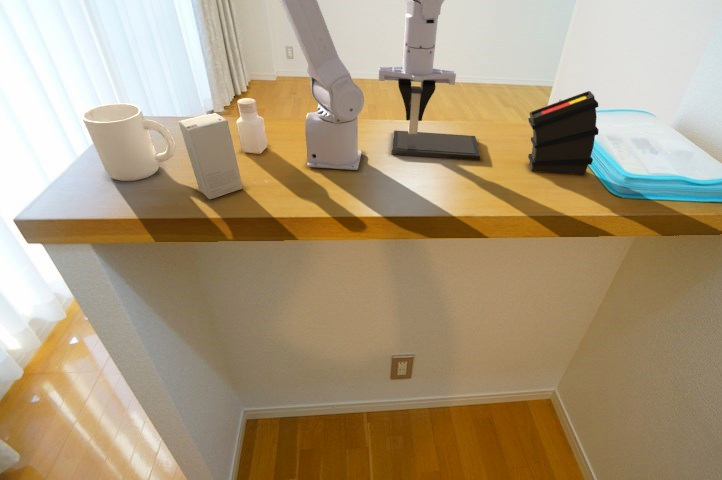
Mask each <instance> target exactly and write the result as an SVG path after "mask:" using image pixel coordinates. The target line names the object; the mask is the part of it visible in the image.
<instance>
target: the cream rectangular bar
mask: <svg viewBox="0 0 722 480" xmlns="http://www.w3.org/2000/svg"><path fill="white" fill-rule="evenodd" d="M411 89H412V90H411V100H410V120H408V129H407V131H408V133H409V134H417V132H419V121H418V118H419V109H420V97H421V86H417V85H416V86H415V85H411Z"/></svg>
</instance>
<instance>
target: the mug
mask: <svg viewBox="0 0 722 480" xmlns="http://www.w3.org/2000/svg"><path fill="white" fill-rule="evenodd" d="M81 118H82V121H83V123H84V125H85V128H86V130H87V132H88V134H89V137H90V139H91V141H92V143H93V145H94V148H95V150H96V152H97V155H98V157H99V159H100V161H101V164H102V166H103V168H104V170H105V172H106V174H107V175H108V176H109V177H110V178H111V179H113V180H116V181H120V182H135V181H140V180H144V179H148V178H149V177H151V176H153V175H155V174H156V173H158V171H159V169H160V163H163V162H166V161H167V162H168V161H169V160H170V159H172V157H173V156H174V155H175V152H176V141H175V139H174V136H173V135H172V133H171V131H170V130H169V129H168V128H167V127H166V126H165V125H163V124H161V123H160V122H157V121H155V120H152V119H145V117H144V114H143V111H142V108H140V107H139V106H138V105H136V104H131V103H110V104H104V105H103V104H102V105H99V106H98V105H97V106H95V107H92V108H89V109H87V110H85V111H84V112H83V113H82V114H81ZM149 130H151V131H155V132H157V133H159V134H160V135H161V137H162V138H163V139H164V140H165V141H164V142H165V143H166V149H165V151H164V152H161V153H157V152H156V149H155V146H154V143H153V140H152V138H151V137H152V136H151V135H150V132H149Z"/></svg>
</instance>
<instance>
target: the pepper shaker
mask: <svg viewBox="0 0 722 480" xmlns="http://www.w3.org/2000/svg"><path fill="white" fill-rule="evenodd" d="M236 102H237V103H236V104H237V108H238V112H239V116H240V117H238V119H237V120H236V127H237V133H238V137H239V143H240V147H241V151H242V152H243V153H249V154H257V155H259V154H262V153H263V152H264V151H265V150H266V148H267V147H268V140H267V134H266V127H265V121H264V118H263V117H262V116H260V115H258V106H257V101H256V100H255V99H254V98H250V97H244V98H240V99H238V100H237V101H236Z"/></svg>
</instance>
